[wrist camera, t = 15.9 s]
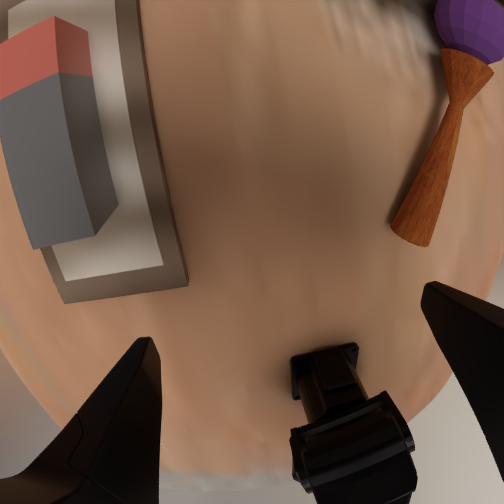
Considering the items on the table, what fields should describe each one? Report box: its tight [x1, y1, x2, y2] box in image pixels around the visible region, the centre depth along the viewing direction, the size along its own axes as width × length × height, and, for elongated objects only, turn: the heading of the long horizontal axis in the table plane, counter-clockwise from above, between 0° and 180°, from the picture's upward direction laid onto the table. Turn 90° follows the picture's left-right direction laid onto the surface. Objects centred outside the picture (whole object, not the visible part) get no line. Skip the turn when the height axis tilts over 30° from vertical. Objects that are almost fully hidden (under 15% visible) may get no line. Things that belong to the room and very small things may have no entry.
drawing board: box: [0, 0, 189, 304], centre depth 15 cm, size 24×10×1 cm, turn 7°
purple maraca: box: [390, 0, 504, 247], centre depth 16 cm, size 6×6×20 cm
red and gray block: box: [0, 16, 119, 250], centre depth 13 cm, size 11×4×4 cm, turn 7°
